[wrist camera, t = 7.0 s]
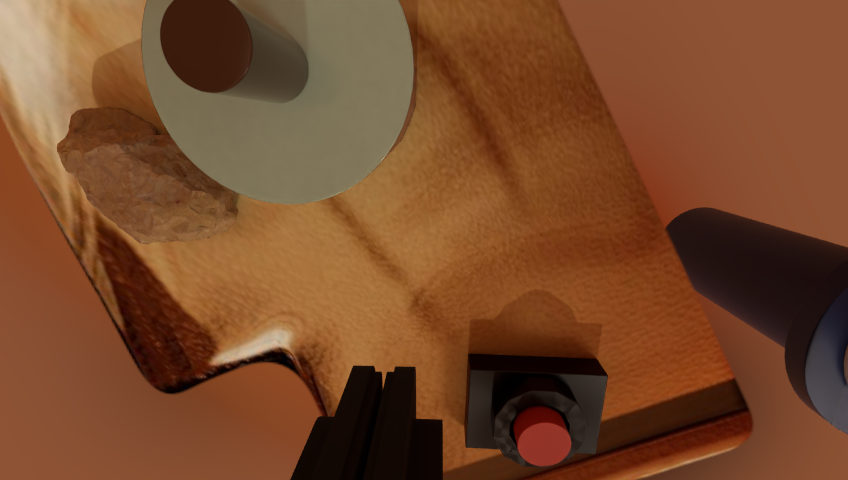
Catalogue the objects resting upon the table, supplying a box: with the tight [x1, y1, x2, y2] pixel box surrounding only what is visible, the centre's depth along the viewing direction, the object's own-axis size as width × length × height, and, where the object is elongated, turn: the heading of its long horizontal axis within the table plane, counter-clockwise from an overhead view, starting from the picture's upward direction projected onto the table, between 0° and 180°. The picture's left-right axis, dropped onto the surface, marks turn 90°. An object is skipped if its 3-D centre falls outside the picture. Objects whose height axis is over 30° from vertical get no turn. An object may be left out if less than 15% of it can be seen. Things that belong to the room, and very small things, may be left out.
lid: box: [141, 0, 415, 204], centre depth 16 cm, size 12×12×7 cm
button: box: [513, 405, 571, 466], centre depth 28 cm, size 4×4×2 cm
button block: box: [464, 354, 608, 468], centre depth 30 cm, size 10×7×4 cm
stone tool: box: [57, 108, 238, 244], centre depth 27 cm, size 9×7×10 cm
